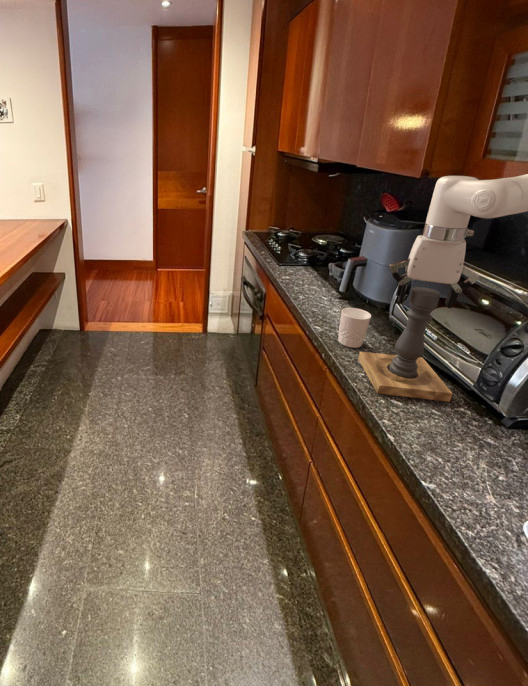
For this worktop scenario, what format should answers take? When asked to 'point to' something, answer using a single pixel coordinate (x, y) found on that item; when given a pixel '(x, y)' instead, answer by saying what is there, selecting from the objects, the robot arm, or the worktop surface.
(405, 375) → the candle holder
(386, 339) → the worktop surface
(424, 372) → the base pad
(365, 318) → the white cup
